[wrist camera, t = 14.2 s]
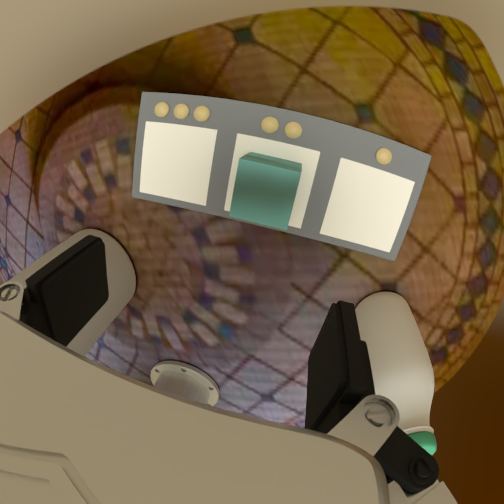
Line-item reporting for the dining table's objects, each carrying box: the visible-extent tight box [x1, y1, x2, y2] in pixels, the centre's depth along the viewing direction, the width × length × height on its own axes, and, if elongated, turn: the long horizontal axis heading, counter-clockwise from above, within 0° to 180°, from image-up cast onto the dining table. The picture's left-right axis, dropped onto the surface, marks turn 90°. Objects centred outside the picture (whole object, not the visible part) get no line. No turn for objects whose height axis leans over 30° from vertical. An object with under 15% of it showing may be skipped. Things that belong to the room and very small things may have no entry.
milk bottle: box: [355, 291, 436, 455], centre depth 25 cm, size 8×8×20 cm
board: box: [132, 92, 431, 261], centre depth 27 cm, size 12×30×2 cm, turn 79°
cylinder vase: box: [8, 229, 136, 356], centre depth 27 cm, size 12×12×25 cm
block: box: [229, 152, 302, 230], centre depth 25 cm, size 5×5×5 cm
